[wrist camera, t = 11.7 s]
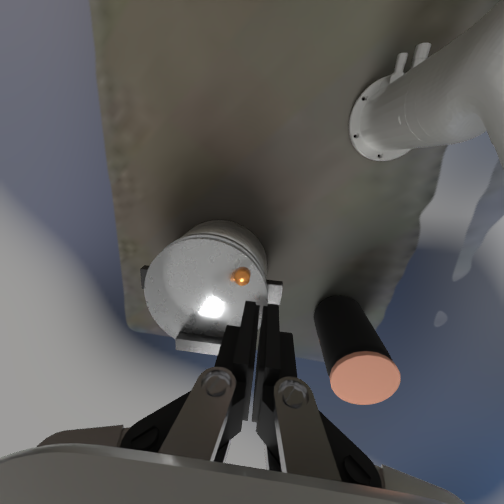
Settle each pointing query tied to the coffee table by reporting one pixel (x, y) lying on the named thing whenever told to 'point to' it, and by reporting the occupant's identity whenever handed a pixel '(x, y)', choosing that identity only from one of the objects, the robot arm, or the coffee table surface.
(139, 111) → the coffee table surface
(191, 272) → the cooker lid
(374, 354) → the coffee jar
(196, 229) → the cooker pot
